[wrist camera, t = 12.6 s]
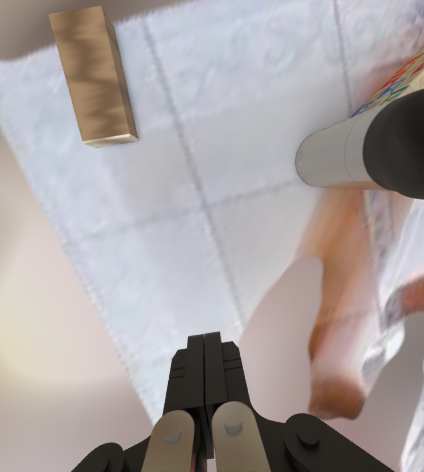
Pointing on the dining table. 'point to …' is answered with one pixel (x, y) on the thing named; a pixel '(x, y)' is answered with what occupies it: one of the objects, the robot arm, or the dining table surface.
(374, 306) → the dining table surface
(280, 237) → the dining table surface
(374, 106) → the stack of blocks
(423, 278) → the dining table surface
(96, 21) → the walnut block
